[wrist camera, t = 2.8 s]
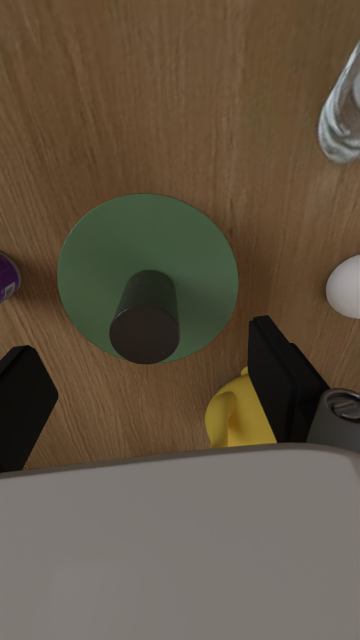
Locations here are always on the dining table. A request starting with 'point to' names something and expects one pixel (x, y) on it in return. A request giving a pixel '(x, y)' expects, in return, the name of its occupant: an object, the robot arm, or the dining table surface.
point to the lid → (147, 278)
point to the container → (8, 277)
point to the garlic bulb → (345, 288)
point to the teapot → (237, 416)
